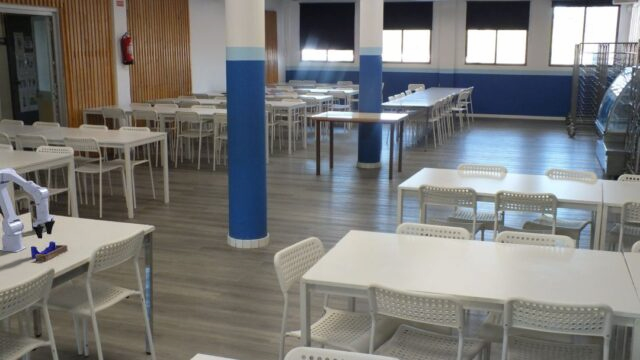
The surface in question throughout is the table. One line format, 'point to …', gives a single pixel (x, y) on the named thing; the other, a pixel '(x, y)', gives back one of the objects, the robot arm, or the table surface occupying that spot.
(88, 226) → the table surface
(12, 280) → the table surface
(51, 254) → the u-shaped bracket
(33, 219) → the coffee box
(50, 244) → the blue notched arch
